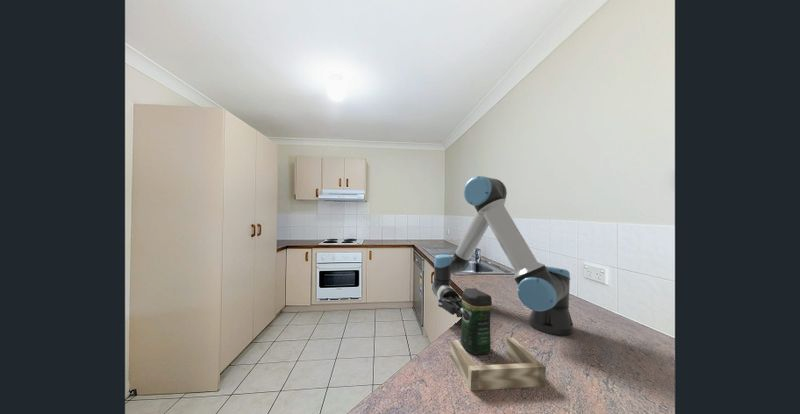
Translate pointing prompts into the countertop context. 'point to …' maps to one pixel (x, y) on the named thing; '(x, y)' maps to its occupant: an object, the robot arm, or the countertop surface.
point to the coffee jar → (476, 321)
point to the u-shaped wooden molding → (500, 369)
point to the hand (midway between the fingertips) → (469, 319)
